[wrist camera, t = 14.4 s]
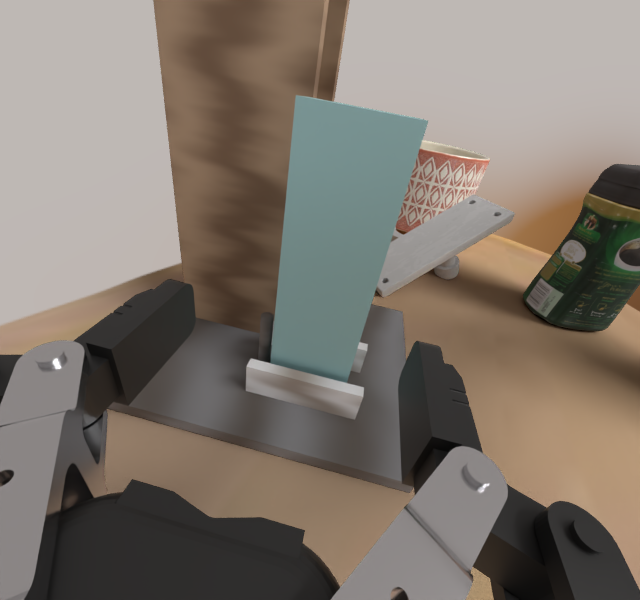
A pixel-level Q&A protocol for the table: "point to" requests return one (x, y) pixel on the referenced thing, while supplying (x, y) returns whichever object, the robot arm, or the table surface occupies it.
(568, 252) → the coffee jar
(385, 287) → the handle
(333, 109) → the teal rectangular block
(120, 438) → the table surface
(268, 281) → the cabinet
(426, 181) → the planter
